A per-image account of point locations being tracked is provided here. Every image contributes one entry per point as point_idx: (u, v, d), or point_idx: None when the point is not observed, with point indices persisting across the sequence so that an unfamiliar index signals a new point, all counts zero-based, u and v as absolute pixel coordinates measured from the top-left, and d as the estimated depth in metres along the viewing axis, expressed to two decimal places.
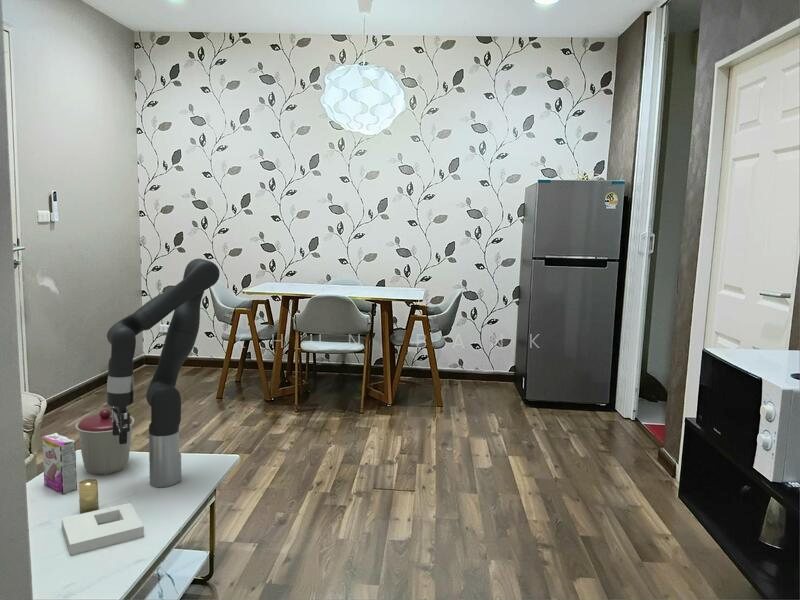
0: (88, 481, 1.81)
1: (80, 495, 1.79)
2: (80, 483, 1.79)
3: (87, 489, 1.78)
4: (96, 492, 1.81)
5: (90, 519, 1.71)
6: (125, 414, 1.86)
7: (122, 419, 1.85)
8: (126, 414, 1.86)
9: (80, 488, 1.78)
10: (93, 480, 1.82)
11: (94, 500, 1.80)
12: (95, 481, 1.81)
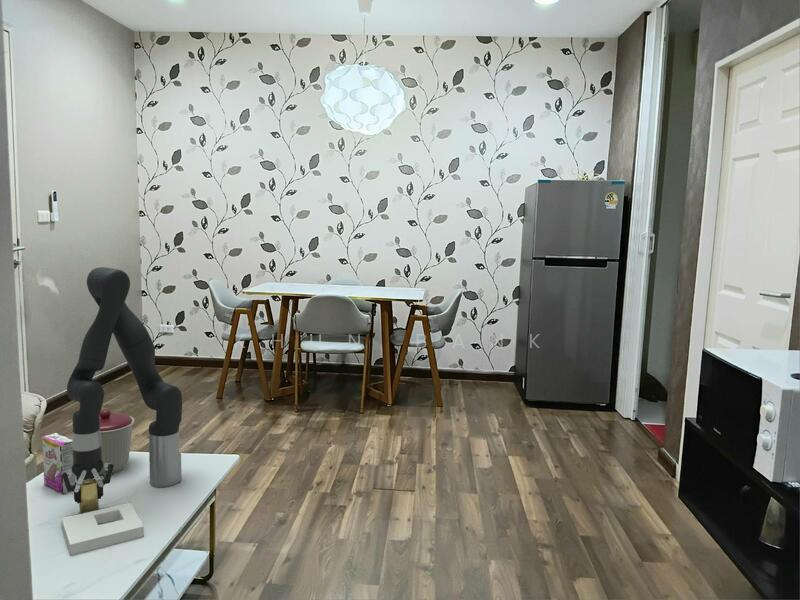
0: (88, 481, 1.81)
1: (80, 495, 1.79)
2: None
3: (87, 489, 1.78)
4: (96, 492, 1.81)
5: (90, 519, 1.71)
6: (112, 464, 1.84)
7: None
8: (112, 464, 1.84)
9: (80, 488, 1.78)
10: (93, 480, 1.82)
11: (94, 500, 1.80)
12: (96, 481, 1.81)
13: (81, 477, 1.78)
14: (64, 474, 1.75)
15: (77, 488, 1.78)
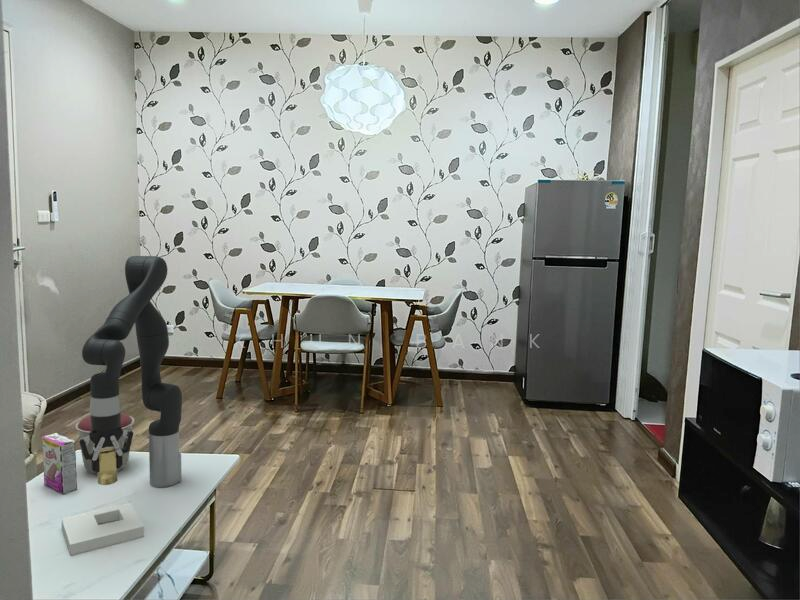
0: (106, 449, 1.70)
1: (98, 464, 1.68)
2: None
3: (105, 457, 1.68)
4: (115, 461, 1.70)
5: (90, 519, 1.71)
6: (132, 432, 1.73)
7: None
8: (131, 431, 1.73)
9: (98, 456, 1.68)
10: (112, 448, 1.71)
11: (113, 469, 1.69)
12: (114, 450, 1.70)
13: (99, 444, 1.67)
14: (82, 441, 1.65)
15: (95, 456, 1.67)
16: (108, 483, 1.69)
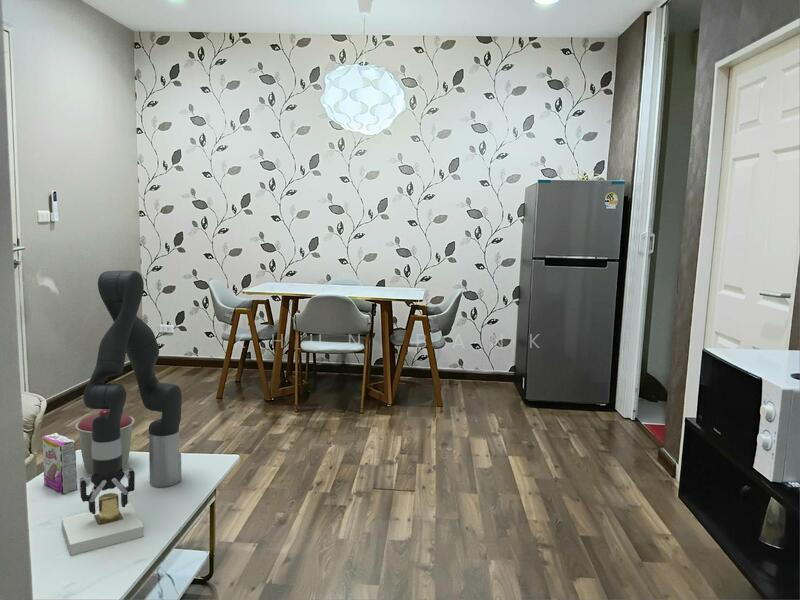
0: (108, 496, 1.72)
1: (100, 511, 1.70)
2: (100, 498, 1.71)
3: (107, 504, 1.70)
4: (117, 508, 1.72)
5: (90, 519, 1.71)
6: None
7: None
8: None
9: (100, 504, 1.70)
10: (113, 495, 1.73)
11: (114, 516, 1.71)
12: (116, 497, 1.72)
13: (100, 487, 1.68)
14: (83, 482, 1.66)
15: (92, 498, 1.68)
16: None
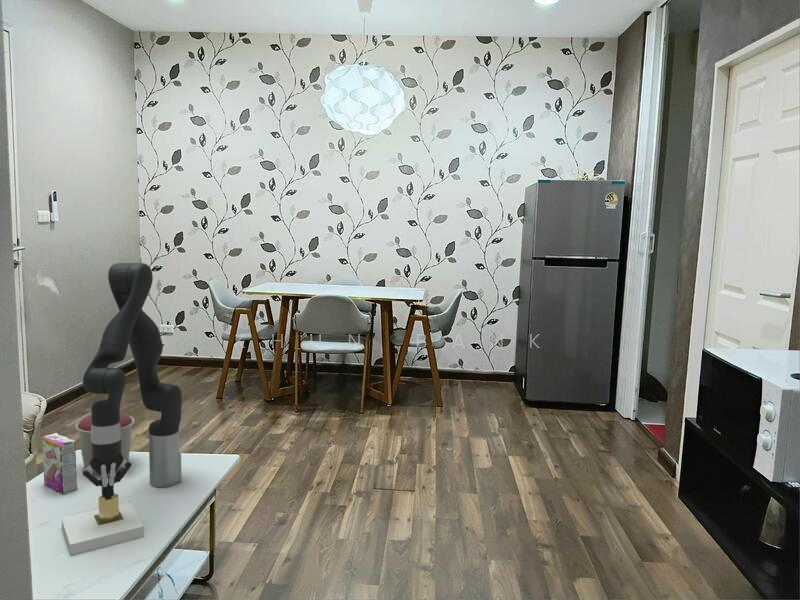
0: None
1: (100, 511, 1.70)
2: (100, 498, 1.71)
3: (107, 505, 1.70)
4: (117, 508, 1.72)
5: (90, 519, 1.71)
6: None
7: None
8: None
9: (100, 504, 1.70)
10: (113, 495, 1.73)
11: (114, 516, 1.71)
12: (116, 497, 1.72)
13: (103, 472, 1.68)
14: (85, 473, 1.66)
15: (105, 483, 1.70)
16: None
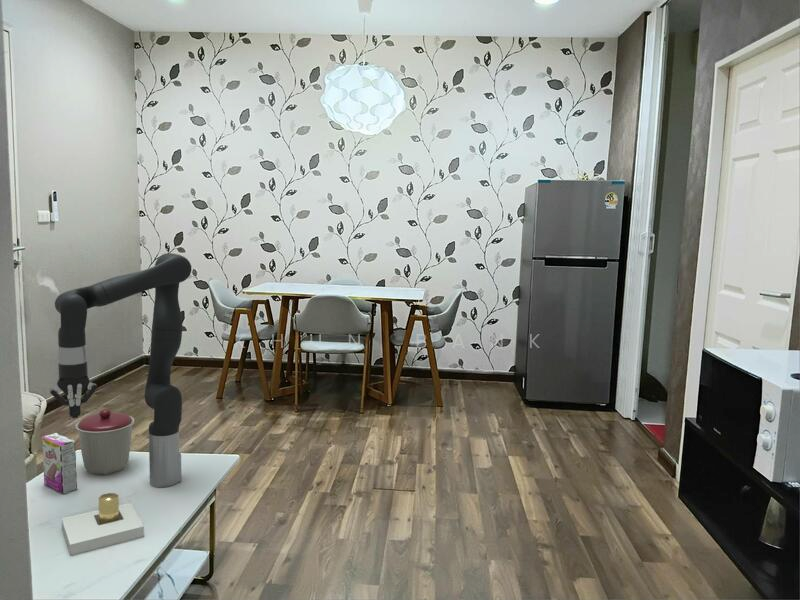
0: (108, 496, 1.72)
1: (100, 511, 1.70)
2: (100, 498, 1.71)
3: (107, 504, 1.70)
4: (117, 508, 1.72)
5: (90, 519, 1.71)
6: None
7: None
8: None
9: (100, 504, 1.70)
10: (113, 495, 1.73)
11: (114, 516, 1.71)
12: (116, 497, 1.72)
13: (70, 392, 1.79)
14: (52, 391, 1.77)
15: (72, 402, 1.80)
16: None
